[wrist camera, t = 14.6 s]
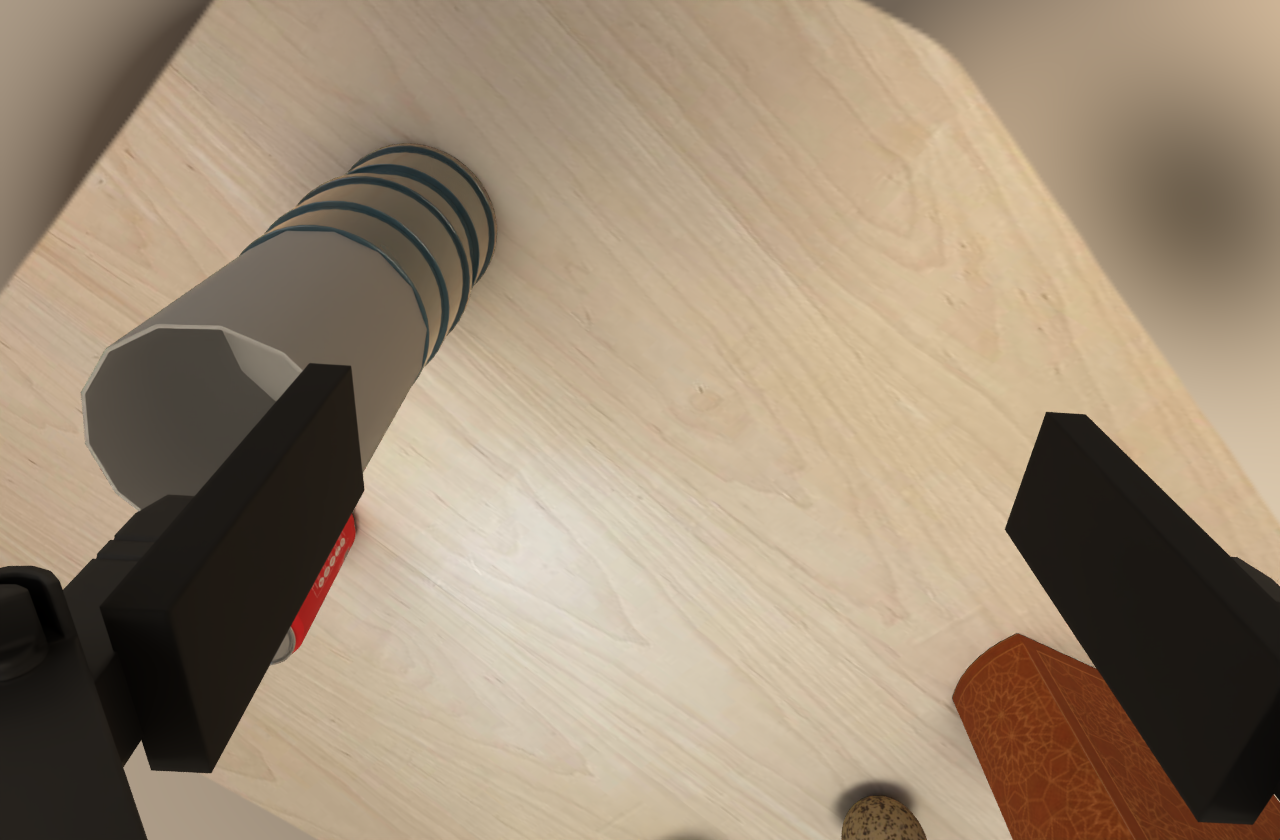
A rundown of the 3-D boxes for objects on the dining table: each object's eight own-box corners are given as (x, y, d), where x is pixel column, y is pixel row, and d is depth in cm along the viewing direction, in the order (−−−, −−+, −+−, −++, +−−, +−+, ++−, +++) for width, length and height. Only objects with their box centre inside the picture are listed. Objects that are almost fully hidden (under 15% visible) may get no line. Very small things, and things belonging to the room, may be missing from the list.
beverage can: (366, 500, 58) (305, 616, 47) (353, 555, 60) (292, 677, 50) (293, 480, 57) (214, 593, 47) (282, 536, 59) (205, 656, 49)
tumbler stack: (329, 137, 46) (193, 206, 32) (496, 149, 46) (433, 223, 32) (346, 294, 51) (233, 416, 37) (497, 305, 51) (443, 429, 37)
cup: (416, 233, 33) (333, 327, 24) (436, 414, 36) (371, 553, 28) (204, 228, 32) (42, 321, 24) (247, 411, 36) (122, 548, 28)
